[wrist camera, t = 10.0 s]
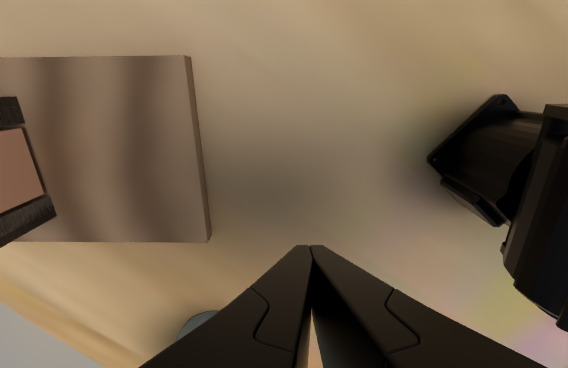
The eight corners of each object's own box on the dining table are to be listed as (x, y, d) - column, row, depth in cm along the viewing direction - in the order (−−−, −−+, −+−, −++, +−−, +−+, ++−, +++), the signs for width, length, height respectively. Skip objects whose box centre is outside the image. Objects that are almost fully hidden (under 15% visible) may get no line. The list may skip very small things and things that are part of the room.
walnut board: (190, 57, 18) (183, 55, 17) (211, 234, 23) (207, 242, 22) (-89, 61, 19) (-113, 59, 18) (-12, 233, 24) (-27, 241, 23)
